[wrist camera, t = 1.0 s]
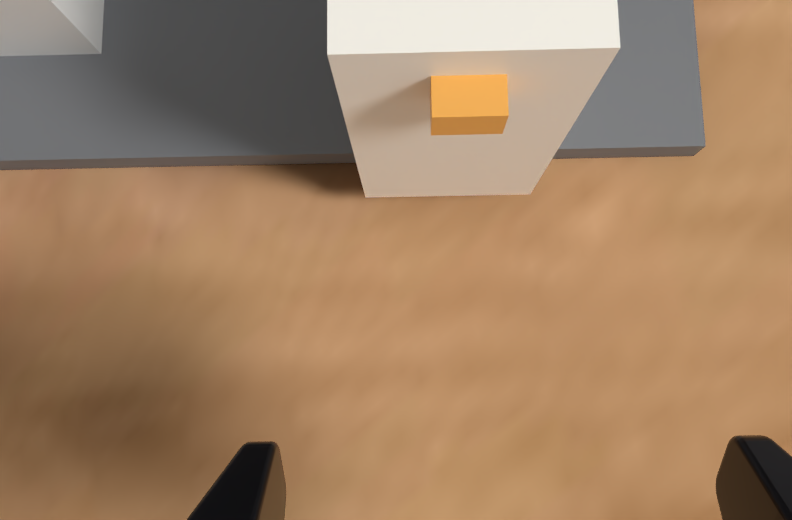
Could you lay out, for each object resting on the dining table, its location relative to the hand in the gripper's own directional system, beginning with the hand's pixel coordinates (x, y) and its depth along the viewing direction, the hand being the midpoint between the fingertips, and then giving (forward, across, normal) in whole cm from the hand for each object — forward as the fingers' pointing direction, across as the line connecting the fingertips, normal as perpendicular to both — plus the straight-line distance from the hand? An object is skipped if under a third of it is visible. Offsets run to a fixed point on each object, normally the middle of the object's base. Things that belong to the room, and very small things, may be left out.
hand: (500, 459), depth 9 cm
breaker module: (+15, 0, +2) cm, 15 cm away
